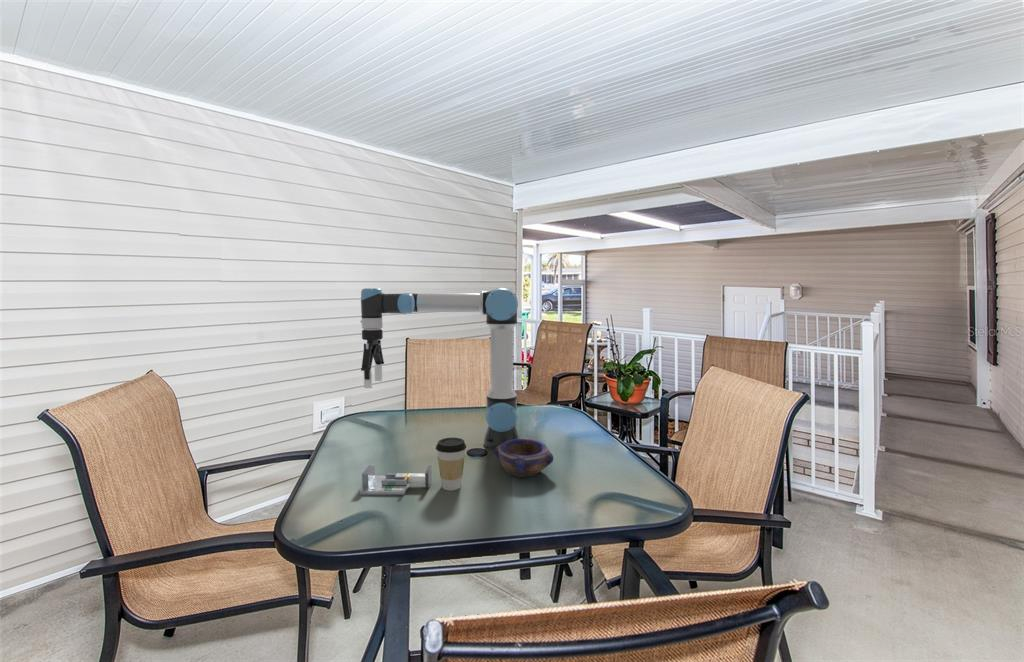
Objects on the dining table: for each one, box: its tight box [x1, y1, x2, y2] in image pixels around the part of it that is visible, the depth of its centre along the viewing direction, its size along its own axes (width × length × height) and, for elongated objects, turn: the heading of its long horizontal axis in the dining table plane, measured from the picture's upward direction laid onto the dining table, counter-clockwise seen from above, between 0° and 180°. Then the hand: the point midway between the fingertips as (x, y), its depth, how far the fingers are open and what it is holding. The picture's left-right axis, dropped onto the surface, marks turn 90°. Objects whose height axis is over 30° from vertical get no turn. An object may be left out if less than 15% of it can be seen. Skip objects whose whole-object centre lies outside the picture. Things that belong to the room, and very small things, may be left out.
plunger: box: [395, 465, 433, 489], centre depth 149 cm, size 11×8×5 cm
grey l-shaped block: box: [359, 465, 411, 496], centre depth 150 cm, size 14×12×6 cm
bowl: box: [494, 437, 554, 478], centre depth 161 cm, size 18×18×10 cm
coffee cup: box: [435, 437, 467, 491], centre depth 150 cm, size 10×10×15 cm
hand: (373, 384), depth 176 cm, fingers open, 13 cm apart
